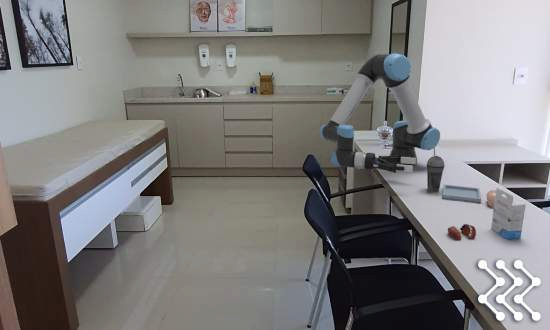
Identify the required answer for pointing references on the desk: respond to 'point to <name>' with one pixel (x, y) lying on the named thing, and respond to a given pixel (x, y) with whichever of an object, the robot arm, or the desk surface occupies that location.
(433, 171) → the beverage cup
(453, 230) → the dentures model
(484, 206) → the desk surface
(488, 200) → the brown egg
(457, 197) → the tray
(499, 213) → the ink box
